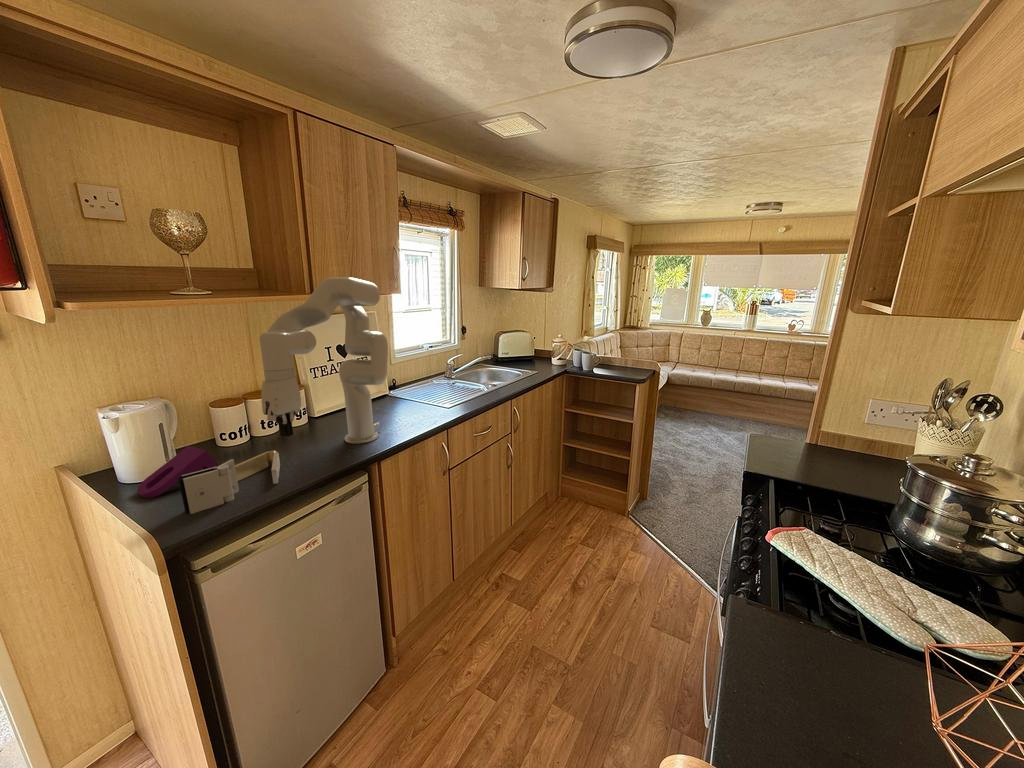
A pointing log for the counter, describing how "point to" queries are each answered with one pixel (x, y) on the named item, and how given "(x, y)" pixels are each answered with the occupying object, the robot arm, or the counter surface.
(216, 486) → the hinge
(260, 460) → the fixed leaf
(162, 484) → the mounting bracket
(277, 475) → the open leaf
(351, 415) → the robot arm
